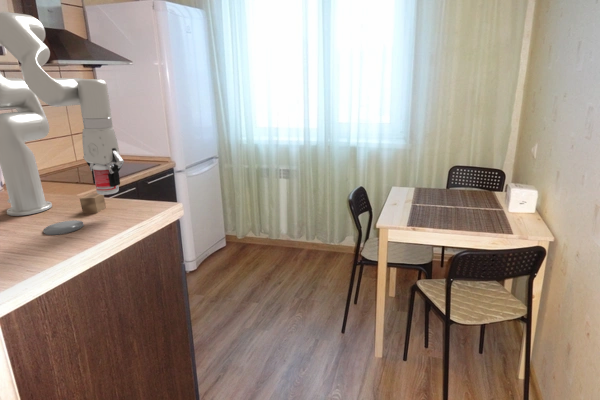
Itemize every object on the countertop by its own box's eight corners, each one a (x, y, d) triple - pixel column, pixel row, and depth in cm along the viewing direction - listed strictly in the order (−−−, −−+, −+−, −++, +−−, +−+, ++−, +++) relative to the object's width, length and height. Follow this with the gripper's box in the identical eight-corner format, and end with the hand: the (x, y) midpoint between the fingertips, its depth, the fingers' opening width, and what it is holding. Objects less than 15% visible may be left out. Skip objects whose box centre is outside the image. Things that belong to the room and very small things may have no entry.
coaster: (35, 232, 113) (35, 230, 113) (68, 220, 122) (68, 218, 121) (59, 237, 109) (58, 234, 109) (91, 224, 117) (90, 222, 117)
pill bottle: (120, 193, 121) (116, 157, 118) (98, 196, 118) (92, 159, 115) (117, 188, 126) (112, 153, 123) (95, 191, 123) (89, 155, 119)
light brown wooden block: (82, 213, 128) (79, 198, 127) (91, 208, 133) (88, 193, 132) (97, 213, 128) (94, 198, 126) (106, 208, 133) (103, 193, 131)
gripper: (65, 123, 116) (76, 183, 121) (108, 127, 109) (117, 191, 115) (88, 120, 122) (97, 178, 128) (130, 124, 115) (137, 184, 121)
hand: (106, 183), depth 121 cm, fingers closed on pill bottle, 6 cm apart
